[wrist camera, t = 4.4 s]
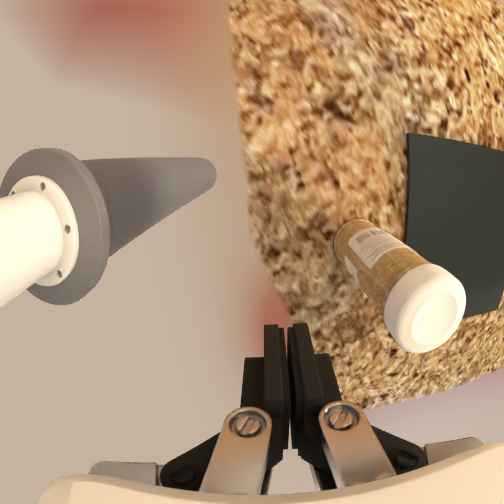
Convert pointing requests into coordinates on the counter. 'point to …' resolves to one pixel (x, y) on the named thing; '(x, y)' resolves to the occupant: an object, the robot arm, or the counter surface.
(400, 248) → the sprinkles bottle
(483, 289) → the mat
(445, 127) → the counter surface
